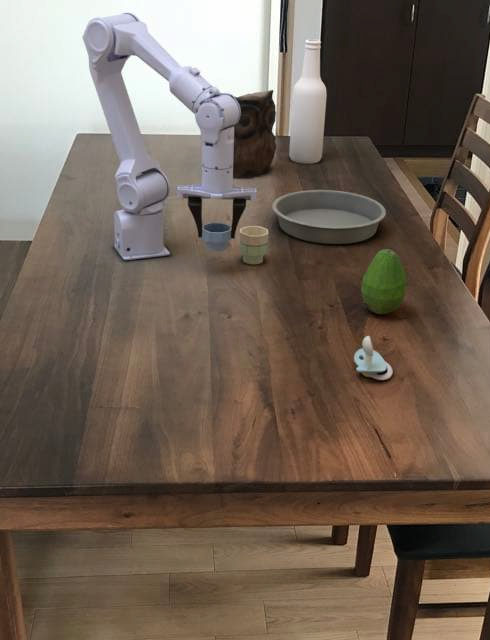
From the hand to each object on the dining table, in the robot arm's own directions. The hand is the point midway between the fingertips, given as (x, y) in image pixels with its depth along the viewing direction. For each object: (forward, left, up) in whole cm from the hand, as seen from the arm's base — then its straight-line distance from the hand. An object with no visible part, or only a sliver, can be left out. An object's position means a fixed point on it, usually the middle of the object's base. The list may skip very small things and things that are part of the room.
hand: (216, 236), depth 169 cm
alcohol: (+49, +64, -7) cm, 81 cm away
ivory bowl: (+9, +3, -5) cm, 11 cm away
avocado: (+22, -26, -7) cm, 35 cm away
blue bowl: (0, 0, -2) cm, 2 cm away
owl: (+30, +59, -7) cm, 67 cm away
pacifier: (+10, -45, -7) cm, 47 cm away
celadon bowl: (+9, +3, -7) cm, 12 cm away
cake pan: (+32, +16, -7) cm, 37 cm away
